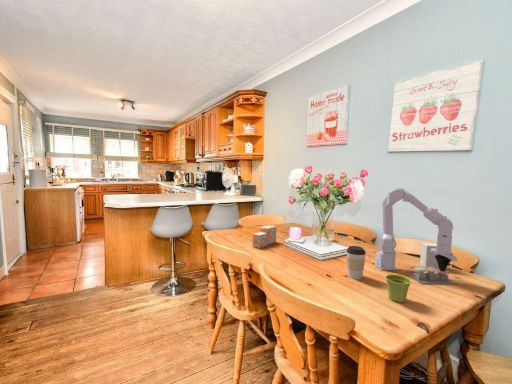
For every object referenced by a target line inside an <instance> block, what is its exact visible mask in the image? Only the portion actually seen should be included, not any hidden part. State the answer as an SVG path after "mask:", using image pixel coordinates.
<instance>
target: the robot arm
mask: <svg viewBox="0 0 512 384" xmlns="http://www.w3.org/2000/svg"><path fill="white" fill-rule="evenodd" d="M401 200H402V202H407V203H410V205H413V206H414V207H415V208H417V209H418V210H419V211H421V213H423V217H424V218H426V219H427V220H428V221H430V222H431V223H432V224H433V225H434V226H436V227H437V229H438V232H437V236H436V237H437V239H436V244H437V249H436V248H431V252H434V253H436V254H438V255H435V258H436V260H437V263H438V266H439V270H440V271H447V269H448V266H449V264H450V263H451V262H458V257H457V256H455V255H454V254H453V252H452V244H453V243H452V242H453V235H452V234H453V230H454V225H453V222H452V220H451V219H449V218H447V216H445V215H443V214H442V213H440V212H439V209H437V208H433V207H428V206H426V204H424V203H423V202H421V200H419V199H418V198H417V197H416V196H415V195H413V194H412V193H411V192H409V191H408V190H405V189H404V188H401V187H397V188H394V189H392V190H391V191H389V192H388V193H387V195H386V197H385V198H384V199H383V201H382V231H383V232H382V233H383V234H382V235H383V236H382V242H381V243H380V250H379V251H376V253H375V259H374V260H375V262H374V266H375V267H377V269H379V270H381V271H399V268H397V267H396V258H397V257H396V254H397V252H396V250H395V249H396V247H397V242H396V240H395V235H394V211H393V209H394V208H393V206H394V205H395V204H396V203H398V202H399V201H401Z"/></svg>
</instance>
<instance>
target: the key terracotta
mask: <svg viewBox="0 0 512 384" xmlns="http://www.w3.org/2000/svg"><path fill="white" fill-rule="evenodd" d="M437 273H439V274H440V275H450V271H448V270H446V271H440V270H439V269H438V272H437Z"/></svg>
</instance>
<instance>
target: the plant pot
mask: <svg viewBox="0 0 512 384" xmlns="http://www.w3.org/2000/svg"><path fill="white" fill-rule="evenodd" d="M385 280H386V283H387V291H388V299H390V300H391V301H394V302H397V303H405V302H406V300H407V296H408V291H409V287H410V284H412V280H411V279H410V278H408V277H406V276H404V275H399V274H386V275H385Z"/></svg>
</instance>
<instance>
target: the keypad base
mask: <svg viewBox="0 0 512 384" xmlns="http://www.w3.org/2000/svg"><path fill="white" fill-rule="evenodd" d="M405 274H406V275H407V276H408V277H410V278H412V279H413V280H415V281H417V282H418V283H419V284H421V285H458V283H457V282H455V281H454V280H452V279H451V278H449V274H446V275H440V274H439V273H438V272H435V275H429V274H428V272H424V274H423V275H418V274H417V272H414V273H412V272H411V273H410V272H409V273H408V272H407V273H405Z"/></svg>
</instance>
